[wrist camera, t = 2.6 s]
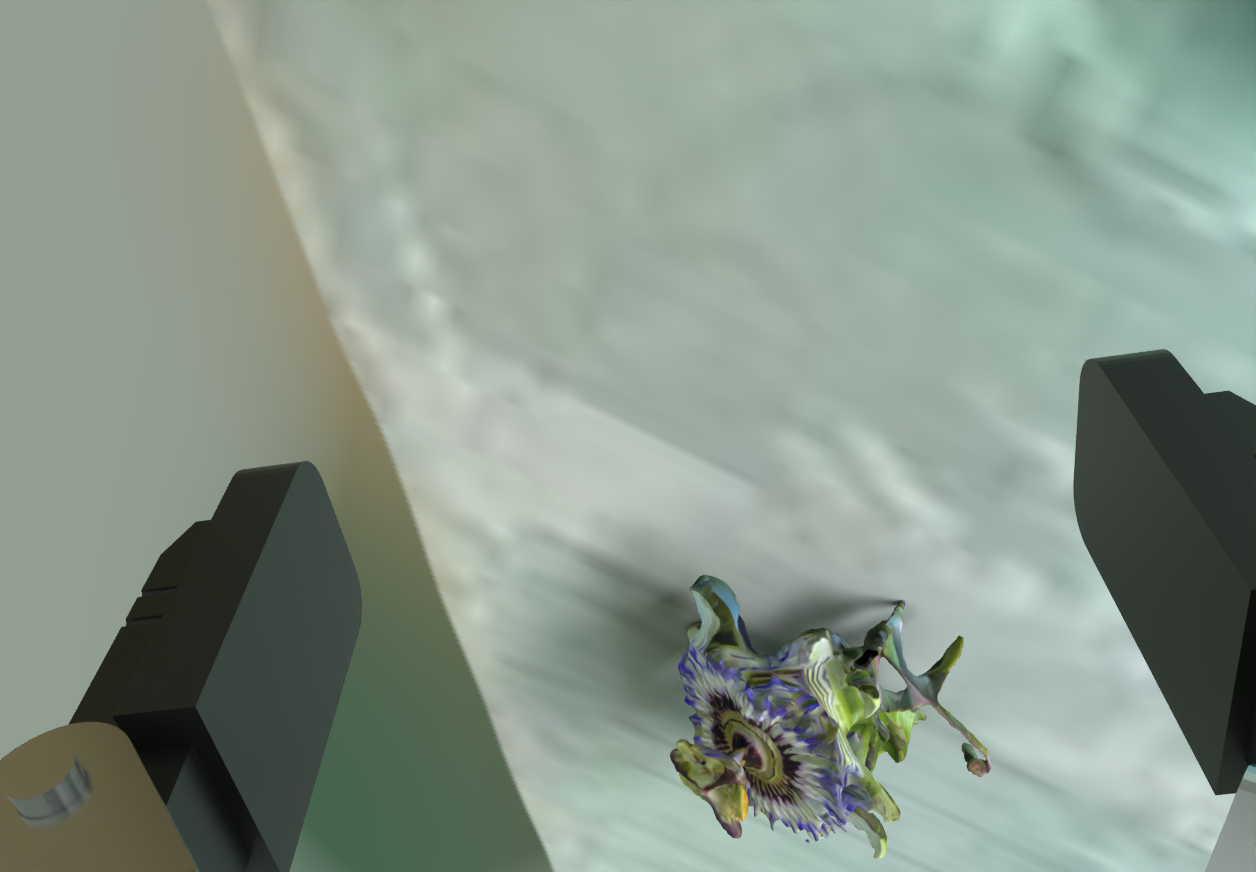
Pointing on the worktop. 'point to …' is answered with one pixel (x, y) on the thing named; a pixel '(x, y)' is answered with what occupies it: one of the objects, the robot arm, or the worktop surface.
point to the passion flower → (800, 721)
